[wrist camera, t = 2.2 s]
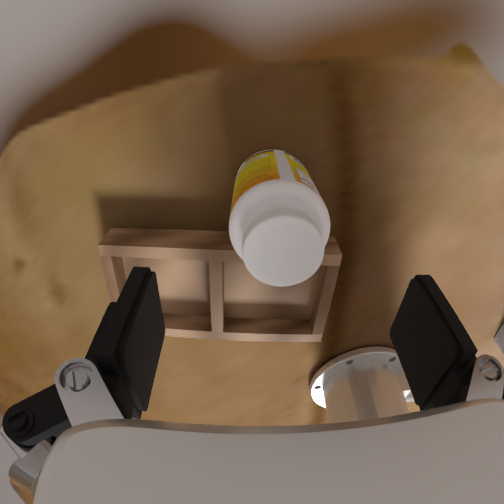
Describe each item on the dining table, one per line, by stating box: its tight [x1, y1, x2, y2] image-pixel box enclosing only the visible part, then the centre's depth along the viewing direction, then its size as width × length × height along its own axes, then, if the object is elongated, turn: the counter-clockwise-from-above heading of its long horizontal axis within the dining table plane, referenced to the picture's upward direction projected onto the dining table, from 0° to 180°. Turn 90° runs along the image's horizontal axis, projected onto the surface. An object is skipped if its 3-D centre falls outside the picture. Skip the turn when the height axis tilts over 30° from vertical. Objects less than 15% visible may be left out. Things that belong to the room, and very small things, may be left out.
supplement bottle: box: [229, 149, 331, 287], centre depth 19 cm, size 6×6×10 cm
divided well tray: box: [98, 228, 342, 342], centre depth 27 cm, size 19×10×3 cm, turn 87°
